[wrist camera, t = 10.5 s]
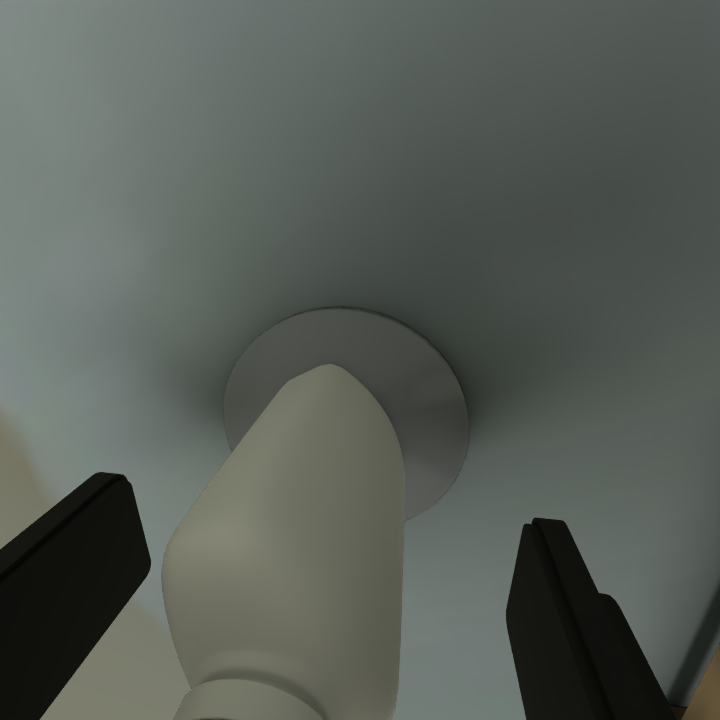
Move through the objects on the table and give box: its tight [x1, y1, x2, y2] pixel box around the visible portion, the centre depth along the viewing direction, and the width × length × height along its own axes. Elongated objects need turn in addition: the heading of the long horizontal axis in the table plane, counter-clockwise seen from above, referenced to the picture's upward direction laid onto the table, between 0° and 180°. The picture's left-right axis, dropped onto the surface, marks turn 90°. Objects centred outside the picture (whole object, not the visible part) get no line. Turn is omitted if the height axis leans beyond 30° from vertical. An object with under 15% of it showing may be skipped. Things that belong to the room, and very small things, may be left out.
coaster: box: [223, 307, 470, 521], centre depth 14 cm, size 9×9×1 cm
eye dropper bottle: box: [161, 364, 405, 720], centre depth 8 cm, size 4×6×12 cm
